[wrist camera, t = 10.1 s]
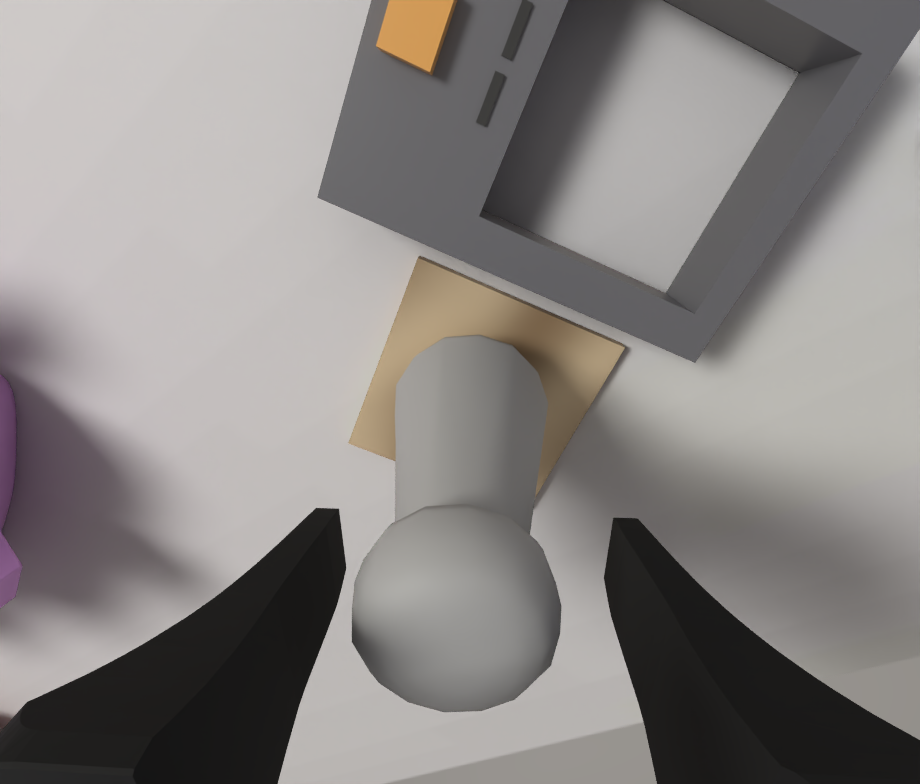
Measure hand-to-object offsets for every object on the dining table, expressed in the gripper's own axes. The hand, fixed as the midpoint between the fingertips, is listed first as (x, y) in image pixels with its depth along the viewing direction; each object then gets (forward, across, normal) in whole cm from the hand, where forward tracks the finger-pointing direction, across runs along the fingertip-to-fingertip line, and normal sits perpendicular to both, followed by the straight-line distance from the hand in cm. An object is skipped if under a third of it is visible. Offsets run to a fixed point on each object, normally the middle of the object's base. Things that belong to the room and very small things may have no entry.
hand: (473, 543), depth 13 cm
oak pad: (+10, 0, 0) cm, 10 cm away
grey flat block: (+10, -3, -10) cm, 15 cm away
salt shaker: (+9, 0, -1) cm, 9 cm away
